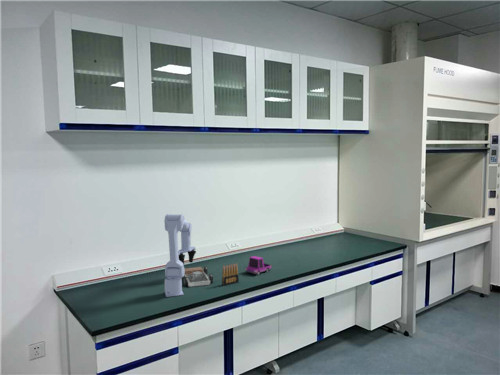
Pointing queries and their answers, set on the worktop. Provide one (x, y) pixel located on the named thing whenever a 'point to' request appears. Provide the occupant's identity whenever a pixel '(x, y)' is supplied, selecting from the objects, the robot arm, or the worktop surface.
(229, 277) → the ammunition clip
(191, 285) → the chassis
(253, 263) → the toy truck
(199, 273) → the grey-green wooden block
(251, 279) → the worktop surface
